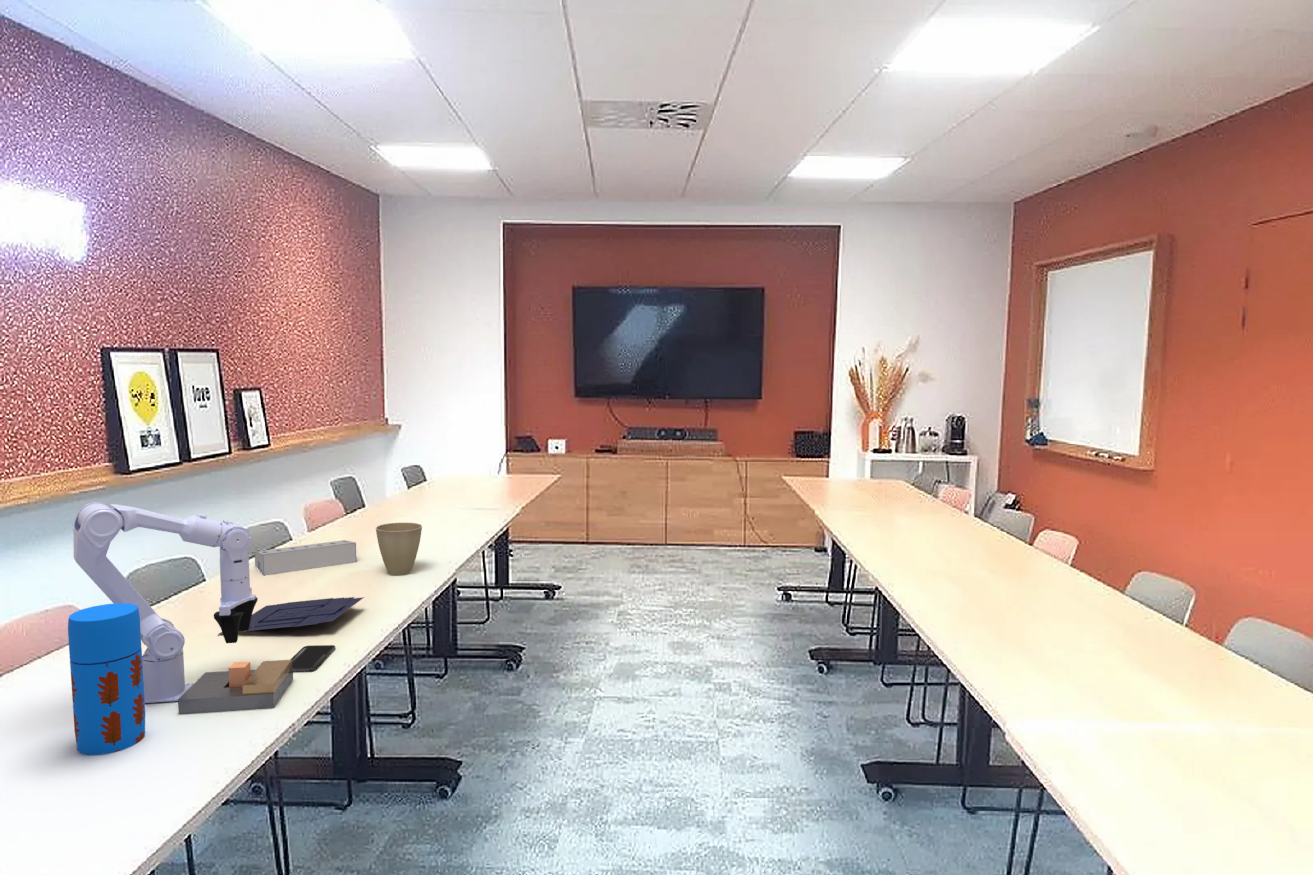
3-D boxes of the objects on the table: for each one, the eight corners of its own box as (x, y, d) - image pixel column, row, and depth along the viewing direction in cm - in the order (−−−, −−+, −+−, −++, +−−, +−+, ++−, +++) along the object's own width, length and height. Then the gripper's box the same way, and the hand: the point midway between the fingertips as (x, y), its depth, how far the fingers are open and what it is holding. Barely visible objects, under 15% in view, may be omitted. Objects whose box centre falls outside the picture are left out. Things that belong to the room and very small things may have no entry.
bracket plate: (178, 714, 155) (177, 690, 154) (206, 685, 169) (205, 663, 168) (273, 707, 158) (273, 684, 158) (293, 680, 172) (292, 658, 171)
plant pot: (410, 579, 251) (409, 532, 250) (368, 577, 254) (367, 530, 252) (430, 568, 266) (429, 523, 265) (390, 565, 268) (389, 521, 267)
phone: (279, 669, 176) (304, 645, 191) (279, 674, 176) (304, 649, 191) (314, 669, 176) (337, 645, 191) (314, 673, 177) (337, 649, 191)
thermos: (159, 727, 149) (152, 602, 147) (122, 755, 139) (114, 621, 136) (102, 727, 149) (94, 602, 146) (61, 755, 138) (52, 621, 136)
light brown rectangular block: (229, 700, 162) (228, 668, 161) (235, 693, 165) (234, 662, 164) (246, 699, 162) (244, 667, 162) (251, 692, 165) (250, 661, 165)
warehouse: (345, 555, 284) (344, 535, 283) (356, 563, 273) (355, 542, 272) (255, 567, 266) (254, 546, 265) (263, 577, 254) (262, 554, 254)
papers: (330, 633, 198) (328, 620, 198) (218, 645, 199) (216, 631, 199) (368, 604, 222) (366, 592, 222) (268, 614, 223) (266, 602, 223)
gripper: (243, 586, 165) (245, 647, 166) (264, 568, 179) (266, 624, 180) (207, 587, 164) (210, 649, 165) (232, 569, 178) (234, 626, 179)
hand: (237, 636), depth 173 cm, fingers open, 7 cm apart
